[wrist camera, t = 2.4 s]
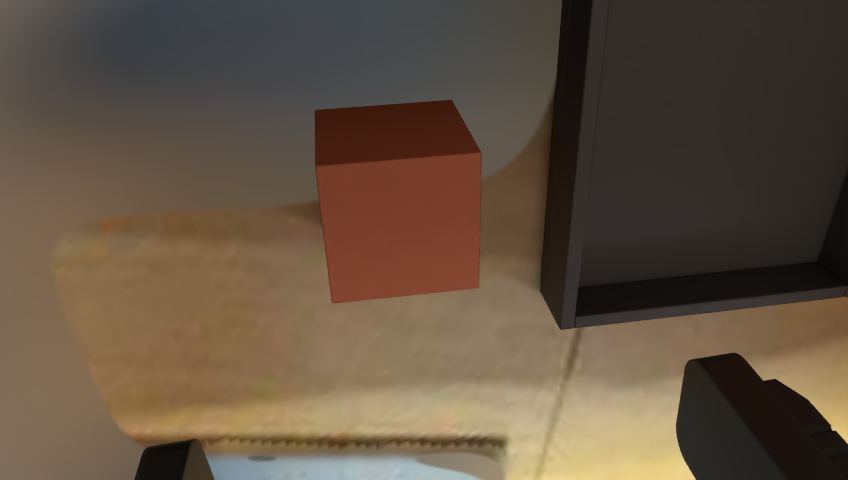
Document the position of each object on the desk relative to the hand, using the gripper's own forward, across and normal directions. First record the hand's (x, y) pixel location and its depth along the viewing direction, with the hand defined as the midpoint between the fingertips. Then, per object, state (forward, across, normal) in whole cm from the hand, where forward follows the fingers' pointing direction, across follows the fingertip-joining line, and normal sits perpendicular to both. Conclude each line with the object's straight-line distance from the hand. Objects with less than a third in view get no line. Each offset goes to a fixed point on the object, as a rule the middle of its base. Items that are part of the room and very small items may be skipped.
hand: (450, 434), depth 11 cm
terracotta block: (+15, 0, +2) cm, 16 cm away
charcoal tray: (+15, -13, +2) cm, 20 cm away
